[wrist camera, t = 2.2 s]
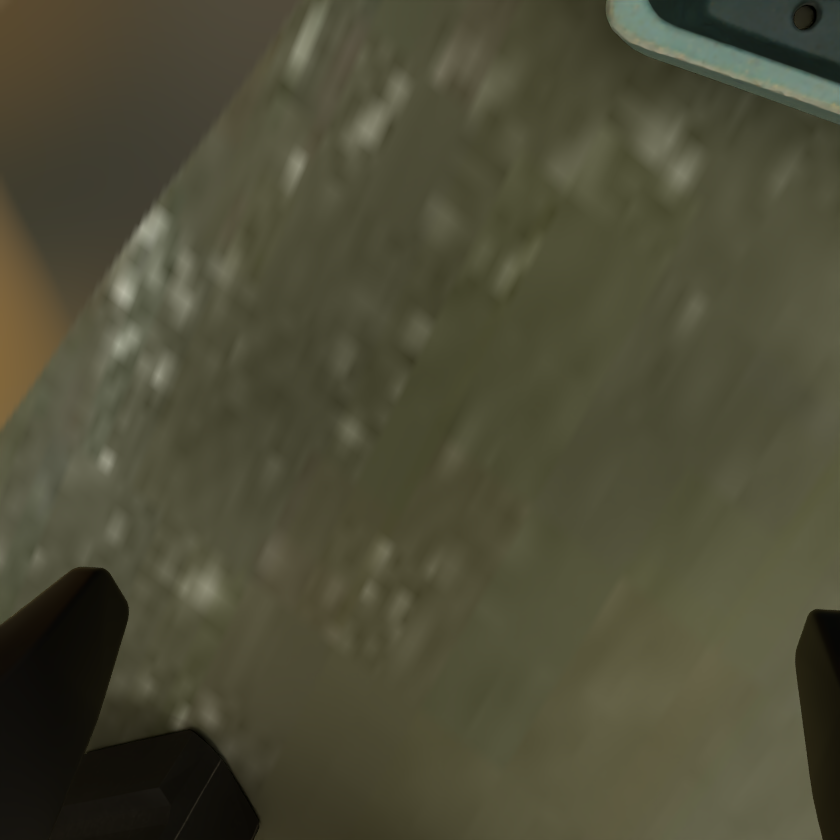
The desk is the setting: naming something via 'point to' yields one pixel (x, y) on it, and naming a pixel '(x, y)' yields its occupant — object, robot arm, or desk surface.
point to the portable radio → (155, 794)
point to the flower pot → (743, 45)
